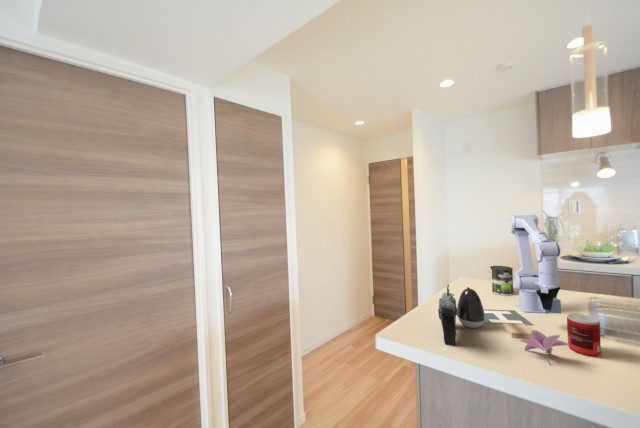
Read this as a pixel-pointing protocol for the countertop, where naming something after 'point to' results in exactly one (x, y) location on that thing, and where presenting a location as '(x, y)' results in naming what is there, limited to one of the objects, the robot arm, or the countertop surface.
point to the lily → (542, 342)
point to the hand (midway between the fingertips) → (549, 307)
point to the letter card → (504, 317)
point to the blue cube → (555, 306)
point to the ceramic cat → (448, 317)
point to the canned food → (583, 334)
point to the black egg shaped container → (470, 309)
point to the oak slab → (517, 330)
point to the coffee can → (501, 280)
